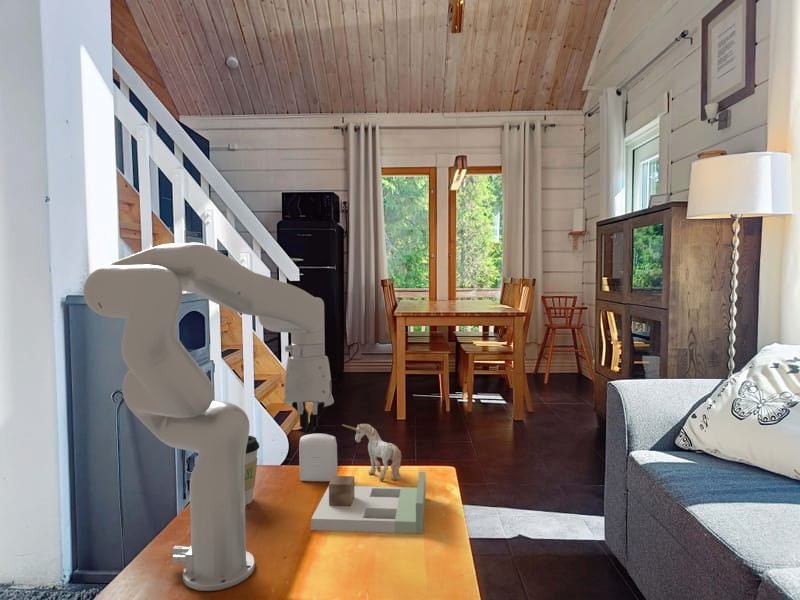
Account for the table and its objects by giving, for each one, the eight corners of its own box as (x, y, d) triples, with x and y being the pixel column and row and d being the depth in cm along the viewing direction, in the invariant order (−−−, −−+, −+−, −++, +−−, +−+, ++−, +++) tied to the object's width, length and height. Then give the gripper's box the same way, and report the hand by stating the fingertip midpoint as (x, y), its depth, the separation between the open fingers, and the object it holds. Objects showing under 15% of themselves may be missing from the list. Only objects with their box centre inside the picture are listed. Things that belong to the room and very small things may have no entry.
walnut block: (329, 505, 119) (328, 484, 119) (333, 496, 124) (333, 475, 124) (350, 506, 119) (350, 484, 119) (354, 497, 124) (354, 476, 124)
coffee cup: (209, 507, 125) (207, 444, 124) (234, 491, 134) (233, 433, 133) (244, 513, 121) (243, 448, 121) (268, 496, 131) (267, 436, 130)
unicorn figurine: (358, 464, 153) (358, 418, 152) (414, 478, 141) (414, 429, 141) (342, 471, 147) (341, 424, 146) (398, 487, 136) (398, 436, 135)
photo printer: (297, 482, 140) (296, 436, 139) (302, 475, 144) (301, 431, 143) (335, 483, 139) (335, 437, 138) (339, 477, 143) (338, 432, 142)
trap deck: (311, 530, 113) (311, 500, 113) (329, 495, 131) (328, 469, 131) (423, 533, 111) (422, 503, 111) (425, 497, 129) (425, 471, 129)
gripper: (269, 353, 117) (271, 434, 118) (338, 353, 116) (339, 435, 117) (280, 348, 125) (281, 425, 126) (344, 348, 124) (345, 426, 125)
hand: (309, 429), depth 121 cm, fingers closed
